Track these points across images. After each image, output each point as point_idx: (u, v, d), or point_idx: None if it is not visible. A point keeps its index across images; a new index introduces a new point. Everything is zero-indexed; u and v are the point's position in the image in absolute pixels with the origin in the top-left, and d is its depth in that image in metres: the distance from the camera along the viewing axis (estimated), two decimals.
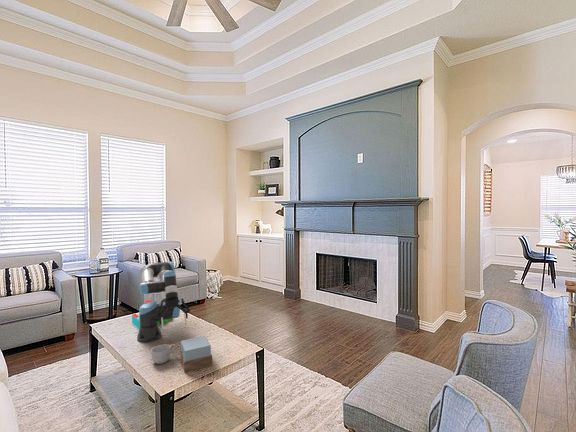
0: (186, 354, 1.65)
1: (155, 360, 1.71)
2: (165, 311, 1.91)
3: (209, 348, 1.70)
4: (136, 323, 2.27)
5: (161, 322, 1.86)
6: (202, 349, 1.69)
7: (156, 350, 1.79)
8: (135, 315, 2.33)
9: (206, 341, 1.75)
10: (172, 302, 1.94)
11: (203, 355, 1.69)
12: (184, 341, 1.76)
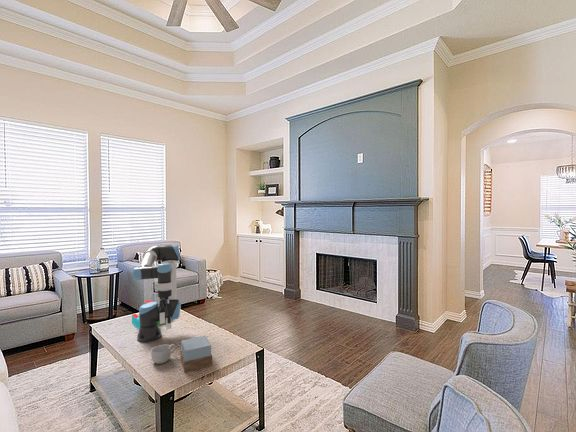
0: (186, 354, 1.65)
1: (155, 360, 1.71)
2: (162, 307, 1.83)
3: (209, 348, 1.70)
4: (136, 323, 2.27)
5: None
6: (202, 349, 1.69)
7: (156, 350, 1.79)
8: (135, 315, 2.32)
9: (206, 341, 1.75)
10: None
11: (203, 355, 1.69)
12: (184, 341, 1.76)
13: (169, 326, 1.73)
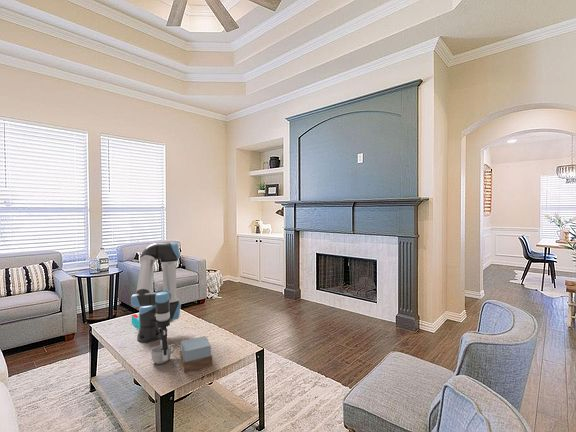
0: (186, 354, 1.64)
1: (155, 360, 1.71)
2: None
3: (209, 348, 1.70)
4: (136, 323, 2.26)
5: None
6: (202, 349, 1.68)
7: (156, 350, 1.79)
8: (135, 315, 2.32)
9: (206, 341, 1.75)
10: None
11: (203, 355, 1.69)
12: (184, 341, 1.76)
13: (165, 358, 1.71)
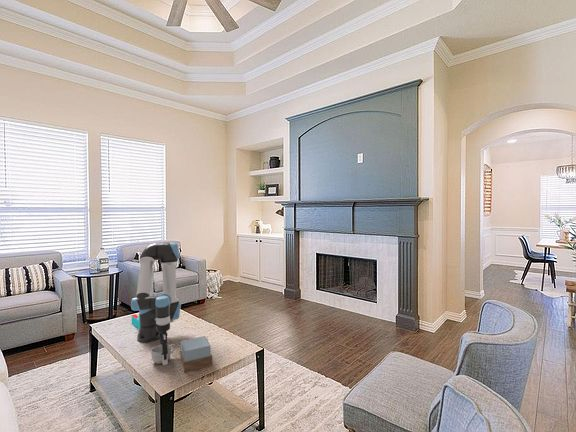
0: (186, 354, 1.65)
1: (155, 360, 1.71)
2: None
3: (209, 348, 1.70)
4: (136, 324, 2.26)
5: None
6: (202, 349, 1.68)
7: (156, 350, 1.79)
8: (135, 316, 2.32)
9: (206, 341, 1.75)
10: None
11: (203, 355, 1.69)
12: (184, 341, 1.76)
13: (165, 362, 1.72)
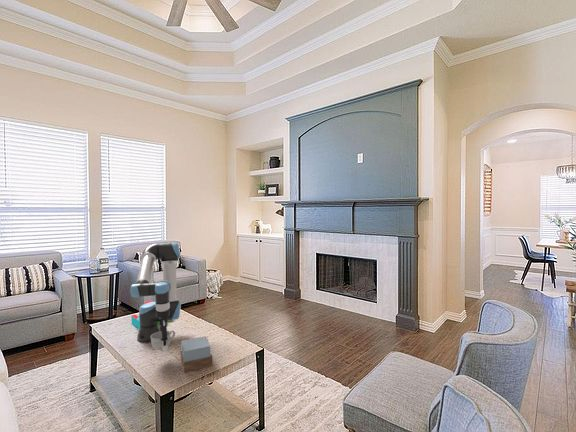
0: (186, 354, 1.64)
1: (155, 346, 1.72)
2: None
3: (209, 349, 1.70)
4: (136, 324, 2.25)
5: None
6: (201, 350, 1.68)
7: (156, 336, 1.79)
8: (135, 316, 2.31)
9: (206, 342, 1.75)
10: (161, 320, 1.76)
11: (203, 356, 1.69)
12: (184, 341, 1.76)
13: (165, 348, 1.72)
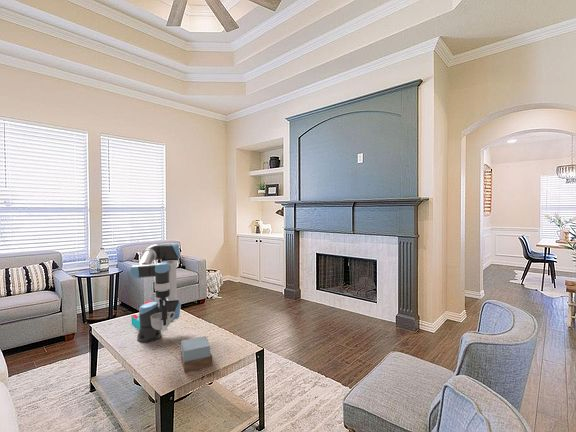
0: (185, 354, 1.65)
1: (154, 326, 1.71)
2: None
3: (208, 349, 1.70)
4: (136, 324, 2.25)
5: None
6: (201, 350, 1.68)
7: (156, 317, 1.78)
8: (135, 316, 2.31)
9: (206, 341, 1.75)
10: (160, 300, 1.75)
11: (202, 356, 1.69)
12: (184, 341, 1.76)
13: (165, 328, 1.71)
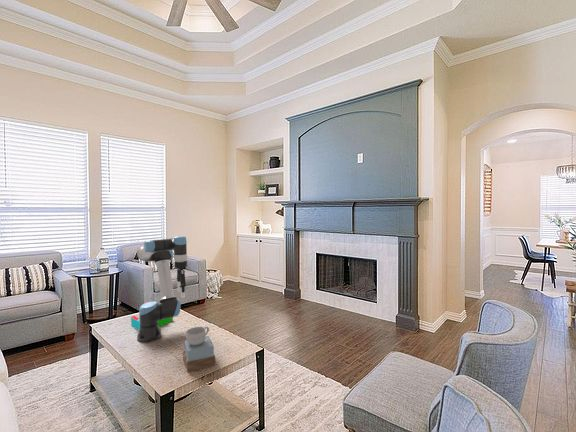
0: (189, 354, 1.65)
1: (191, 342, 1.68)
2: (179, 277, 1.94)
3: (212, 348, 1.70)
4: (137, 325, 2.23)
5: (178, 286, 1.96)
6: (205, 349, 1.69)
7: (190, 333, 1.76)
8: (135, 317, 2.28)
9: (209, 341, 1.75)
10: None
11: (206, 355, 1.69)
12: None
13: (183, 295, 1.84)
